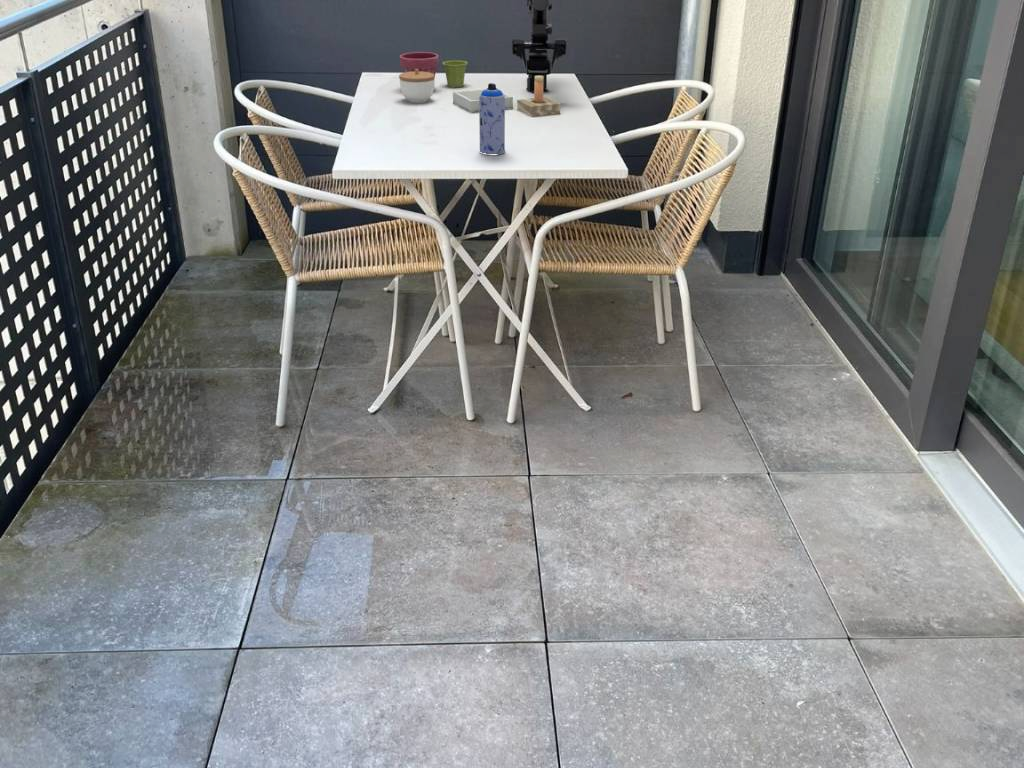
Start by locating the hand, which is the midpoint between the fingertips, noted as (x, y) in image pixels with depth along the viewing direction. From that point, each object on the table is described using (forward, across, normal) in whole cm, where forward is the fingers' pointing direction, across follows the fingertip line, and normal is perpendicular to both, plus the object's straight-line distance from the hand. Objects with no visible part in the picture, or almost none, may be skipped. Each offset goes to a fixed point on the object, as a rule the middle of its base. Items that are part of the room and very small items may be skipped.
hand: (539, 67), depth 350 cm
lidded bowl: (+4, -43, +15) cm, 46 cm away
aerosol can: (+52, -14, -33) cm, 64 cm away
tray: (+9, -20, +10) cm, 24 cm away
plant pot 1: (-8, -44, +28) cm, 53 cm away
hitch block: (+15, 0, +4) cm, 16 cm away
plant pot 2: (-14, -31, +33) cm, 48 cm away
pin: (+15, 0, +4) cm, 16 cm away
